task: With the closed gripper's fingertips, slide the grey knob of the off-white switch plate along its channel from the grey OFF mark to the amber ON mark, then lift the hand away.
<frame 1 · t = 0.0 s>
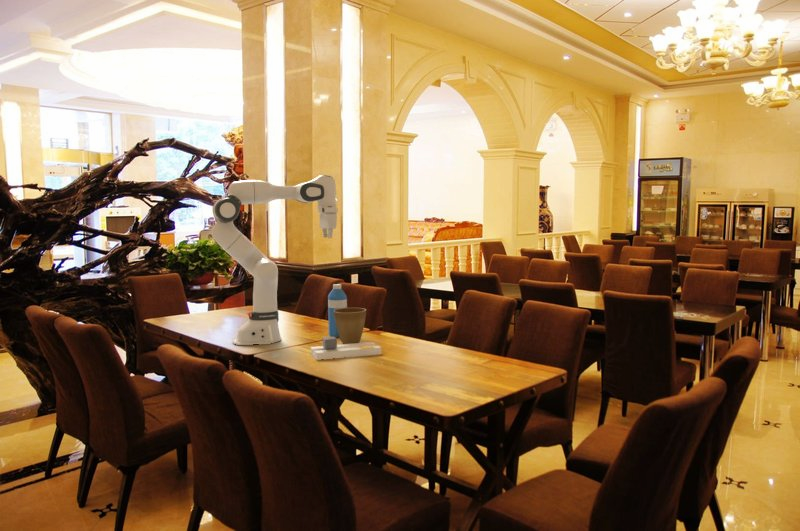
hand: (327, 237, 301), 48 cm above the table, tool pointing down, fingers open, 8 cm apart
water bottle: (337, 335, 307), on the table
plant pot: (350, 344, 285), on the table
switch plate: (345, 354, 266), on the table
switch knob: (329, 344, 263), point 5 cm above the table, slide at 0.0 cm
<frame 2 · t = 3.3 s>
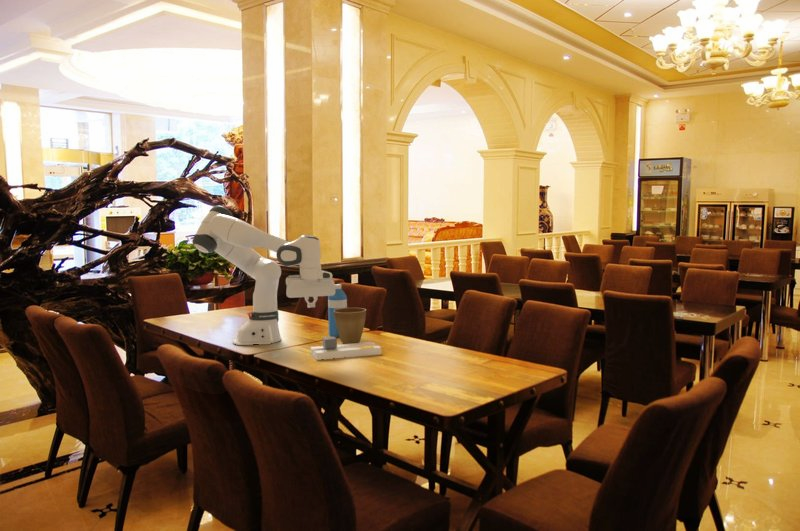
hand: (311, 307, 259), 21 cm above the table, tool pointing down, fingers closed
nothing on the table moved.
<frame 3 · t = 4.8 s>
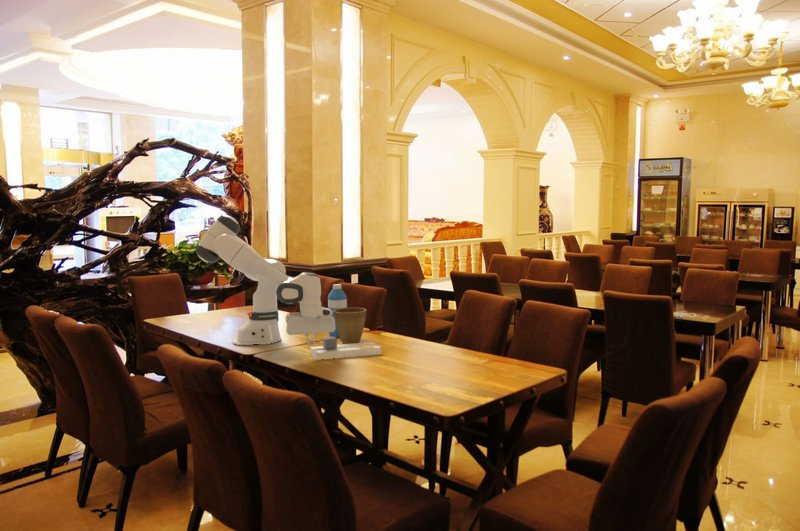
hand: (311, 343, 260), 6 cm above the table, tool pointing down, fingers closed
nothing on the table moved.
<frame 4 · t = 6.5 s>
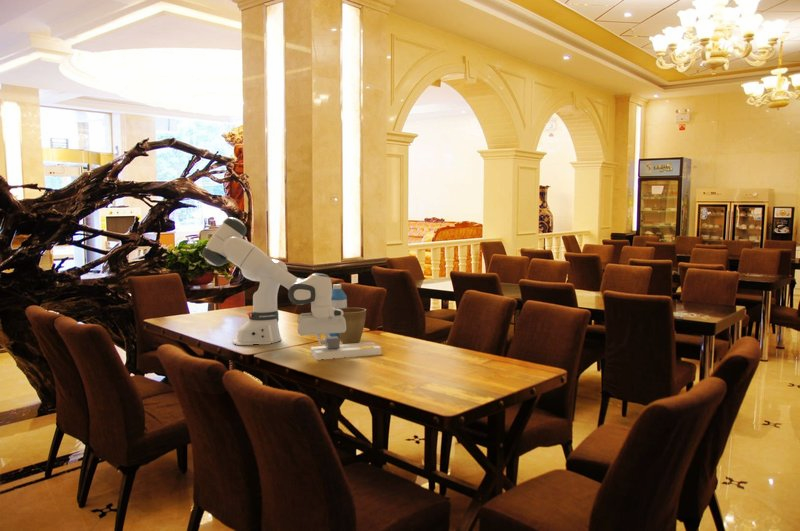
hand: (322, 344, 262), 5 cm above the table, tool pointing down, fingers closed
switch knob: (332, 344, 263), point 5 cm above the table, slide at 1.2 cm, touching gripper
everything else where it was.
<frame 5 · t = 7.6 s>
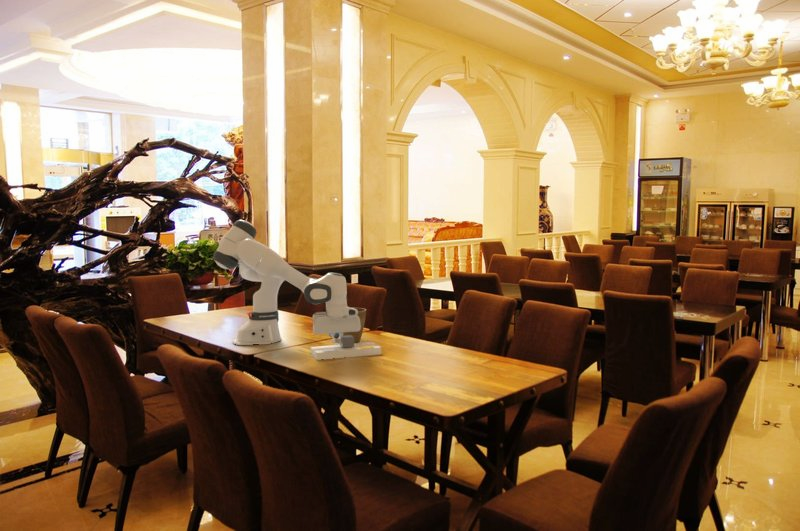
hand: (337, 343, 264), 5 cm above the table, tool pointing down, fingers closed
switch knob: (346, 343, 265), point 5 cm above the table, slide at 7.5 cm, touching gripper
everything else where it was.
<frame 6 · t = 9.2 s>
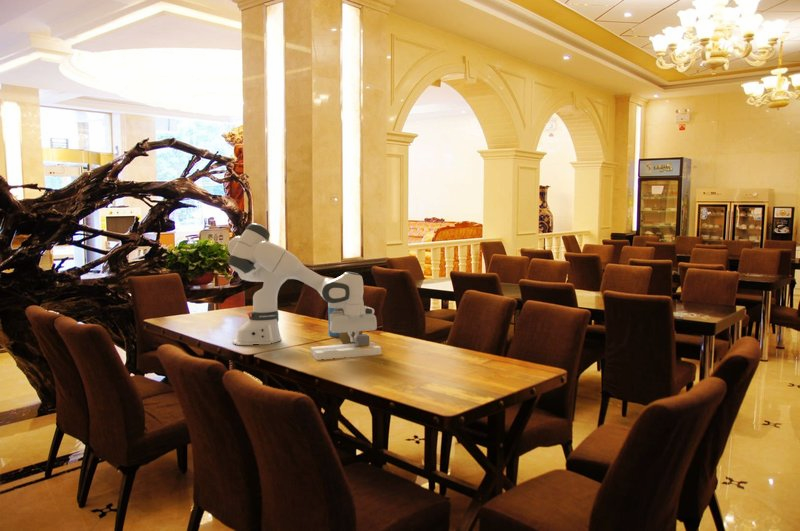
hand: (353, 341, 266), 5 cm above the table, tool pointing down, fingers closed
switch knob: (362, 342, 268), point 5 cm above the table, slide at 14.3 cm, touching gripper
everything else where it was.
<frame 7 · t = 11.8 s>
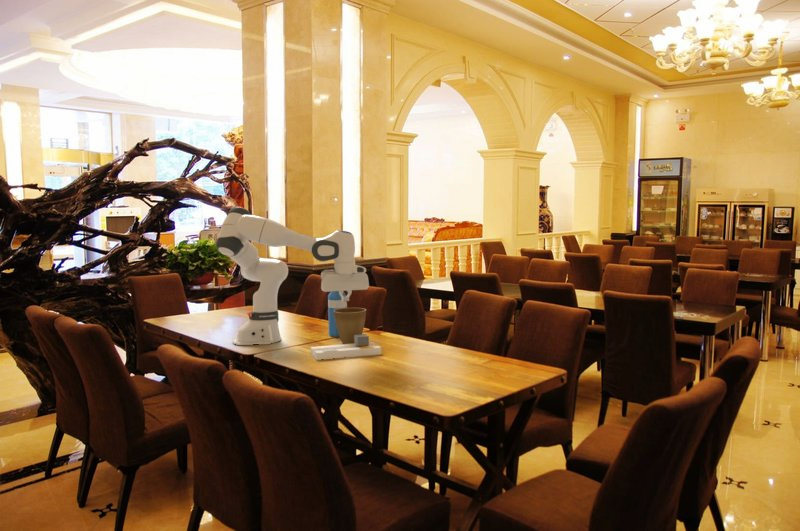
hand: (345, 301, 264), 23 cm above the table, tool pointing down, fingers closed
switch knob: (361, 342, 268), point 5 cm above the table, slide at 14.1 cm
everything else where it was.
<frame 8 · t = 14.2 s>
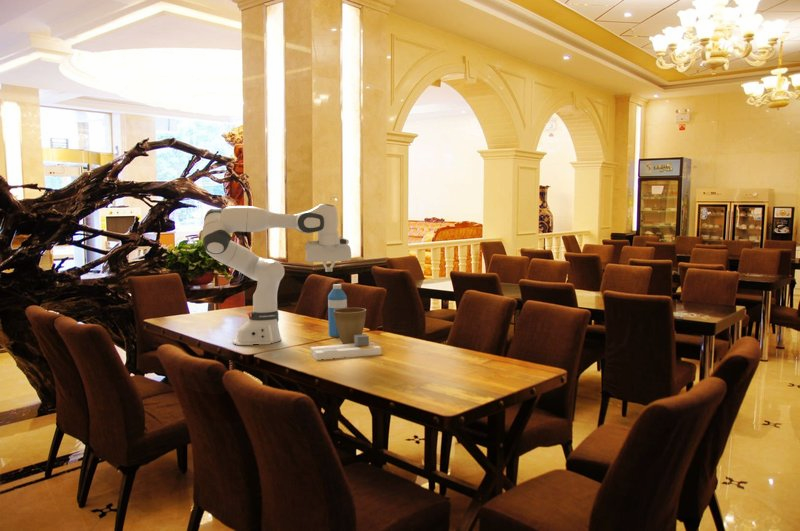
hand: (328, 271, 277), 34 cm above the table, tool pointing down, fingers closed
nothing on the table moved.
at the end: switch knob slide at 14.1 cm; the gripper is holding nothing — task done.
